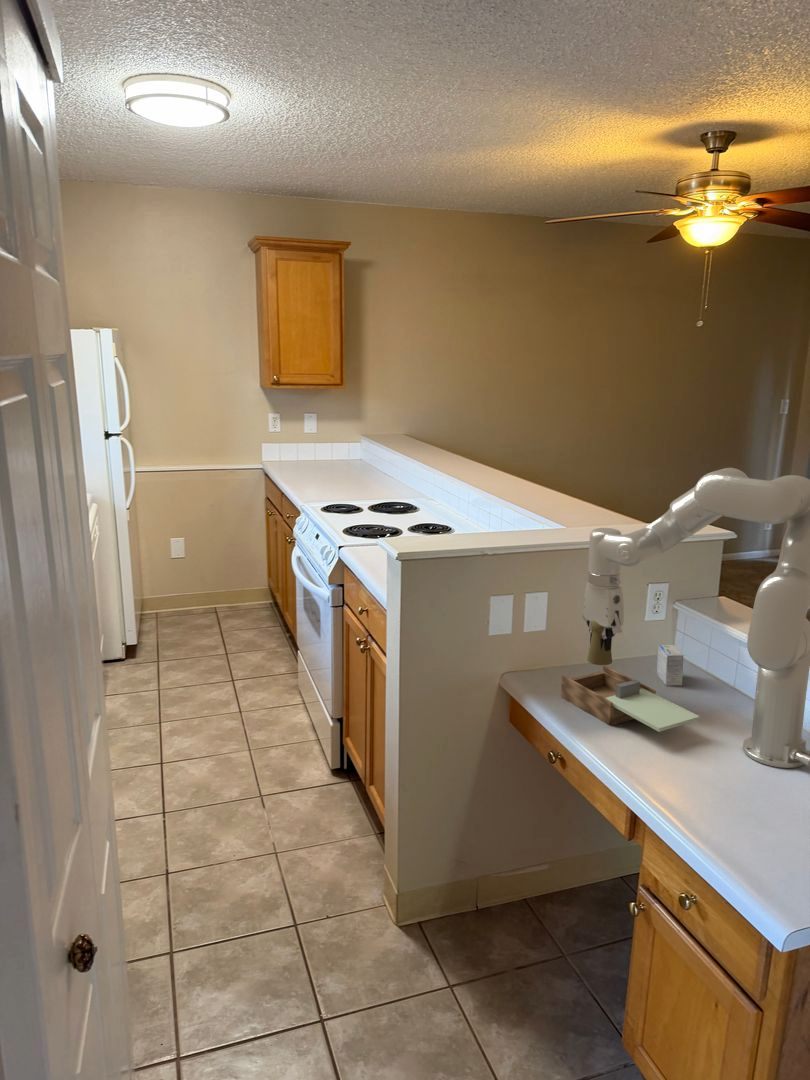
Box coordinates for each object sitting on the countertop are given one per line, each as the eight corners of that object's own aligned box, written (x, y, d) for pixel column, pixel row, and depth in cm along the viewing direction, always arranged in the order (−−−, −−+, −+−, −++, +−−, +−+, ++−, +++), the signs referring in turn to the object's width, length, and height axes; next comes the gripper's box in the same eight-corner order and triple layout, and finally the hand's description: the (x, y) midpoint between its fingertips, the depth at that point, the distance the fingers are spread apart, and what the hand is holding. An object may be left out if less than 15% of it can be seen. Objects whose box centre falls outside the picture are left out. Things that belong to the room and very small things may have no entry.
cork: (583, 657, 190) (585, 615, 188) (605, 655, 191) (607, 613, 189) (593, 666, 184) (595, 623, 182) (616, 664, 185) (618, 621, 183)
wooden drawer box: (654, 713, 182) (655, 690, 181) (609, 725, 176) (610, 702, 175) (603, 686, 198) (604, 665, 197) (561, 697, 192) (561, 675, 191)
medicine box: (682, 686, 198) (684, 655, 196) (665, 686, 198) (667, 655, 196) (672, 674, 205) (674, 644, 204) (656, 674, 206) (657, 644, 204)
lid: (699, 719, 168) (700, 704, 168) (658, 731, 163) (659, 715, 162) (642, 691, 184) (643, 676, 183) (603, 701, 179) (604, 686, 178)
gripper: (639, 585, 177) (635, 658, 182) (593, 569, 192) (590, 637, 196) (615, 589, 174) (611, 664, 178) (570, 573, 188) (567, 642, 193)
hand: (600, 649), depth 187 cm, fingers closed on cork, 2 cm apart
